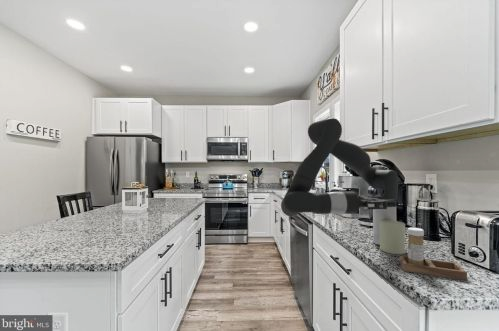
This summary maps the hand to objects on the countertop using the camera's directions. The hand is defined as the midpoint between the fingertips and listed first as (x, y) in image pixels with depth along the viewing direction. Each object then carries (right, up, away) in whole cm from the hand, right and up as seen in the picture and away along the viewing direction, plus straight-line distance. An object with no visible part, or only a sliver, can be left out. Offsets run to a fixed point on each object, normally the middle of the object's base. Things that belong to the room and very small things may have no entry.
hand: (388, 201), depth 83 cm
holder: (+13, -23, -1) cm, 26 cm away
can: (+12, -23, +19) cm, 32 cm away
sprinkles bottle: (+10, -23, 0) cm, 25 cm away
